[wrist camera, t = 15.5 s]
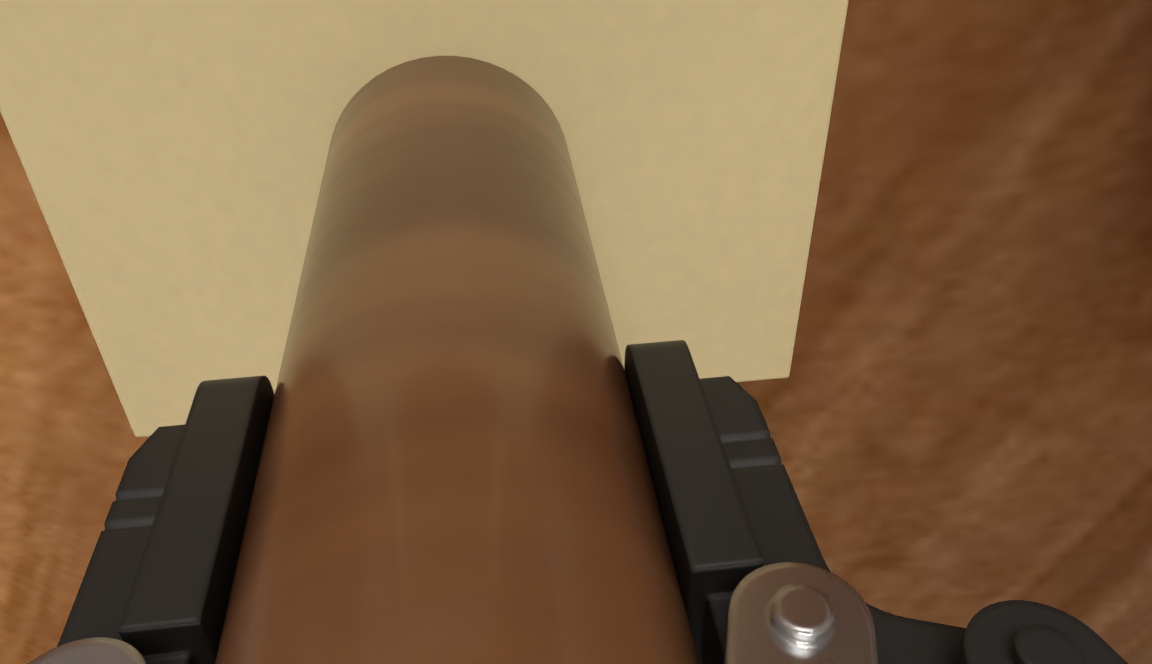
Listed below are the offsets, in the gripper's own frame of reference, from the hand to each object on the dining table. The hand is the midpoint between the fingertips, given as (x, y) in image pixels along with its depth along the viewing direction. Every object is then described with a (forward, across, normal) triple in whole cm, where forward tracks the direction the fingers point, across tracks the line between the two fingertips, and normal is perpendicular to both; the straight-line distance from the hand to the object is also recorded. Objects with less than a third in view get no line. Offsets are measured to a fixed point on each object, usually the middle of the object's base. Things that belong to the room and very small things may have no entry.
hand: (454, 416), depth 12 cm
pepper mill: (+7, 0, 0) cm, 7 cm away
